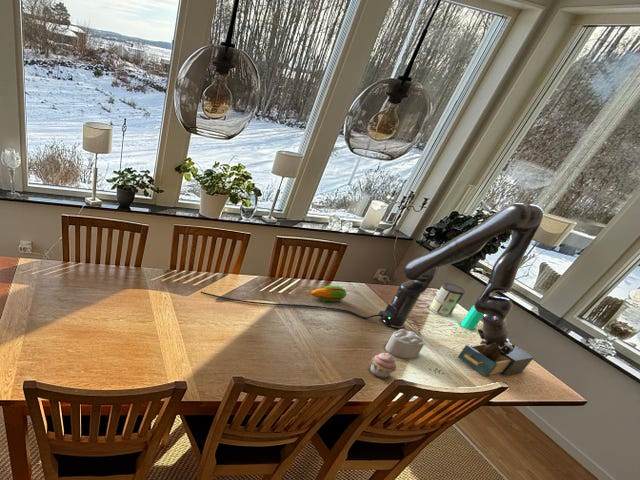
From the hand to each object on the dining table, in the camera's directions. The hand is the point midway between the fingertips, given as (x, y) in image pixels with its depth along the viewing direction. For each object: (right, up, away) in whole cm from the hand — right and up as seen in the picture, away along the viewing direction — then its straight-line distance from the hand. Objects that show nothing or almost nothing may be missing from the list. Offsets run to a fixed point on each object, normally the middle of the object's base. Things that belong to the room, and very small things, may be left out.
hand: (496, 349), depth 167 cm
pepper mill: (-3, -6, +3) cm, 7 cm away
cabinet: (+6, -7, +8) cm, 12 cm away
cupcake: (-55, -9, -9) cm, 57 cm away
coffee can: (+7, +18, +44) cm, 48 cm away
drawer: (-6, -7, +3) cm, 10 cm away
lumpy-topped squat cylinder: (-37, -1, +6) cm, 38 cm away
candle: (+13, +10, +33) cm, 37 cm away
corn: (-56, +24, +38) cm, 72 cm away
